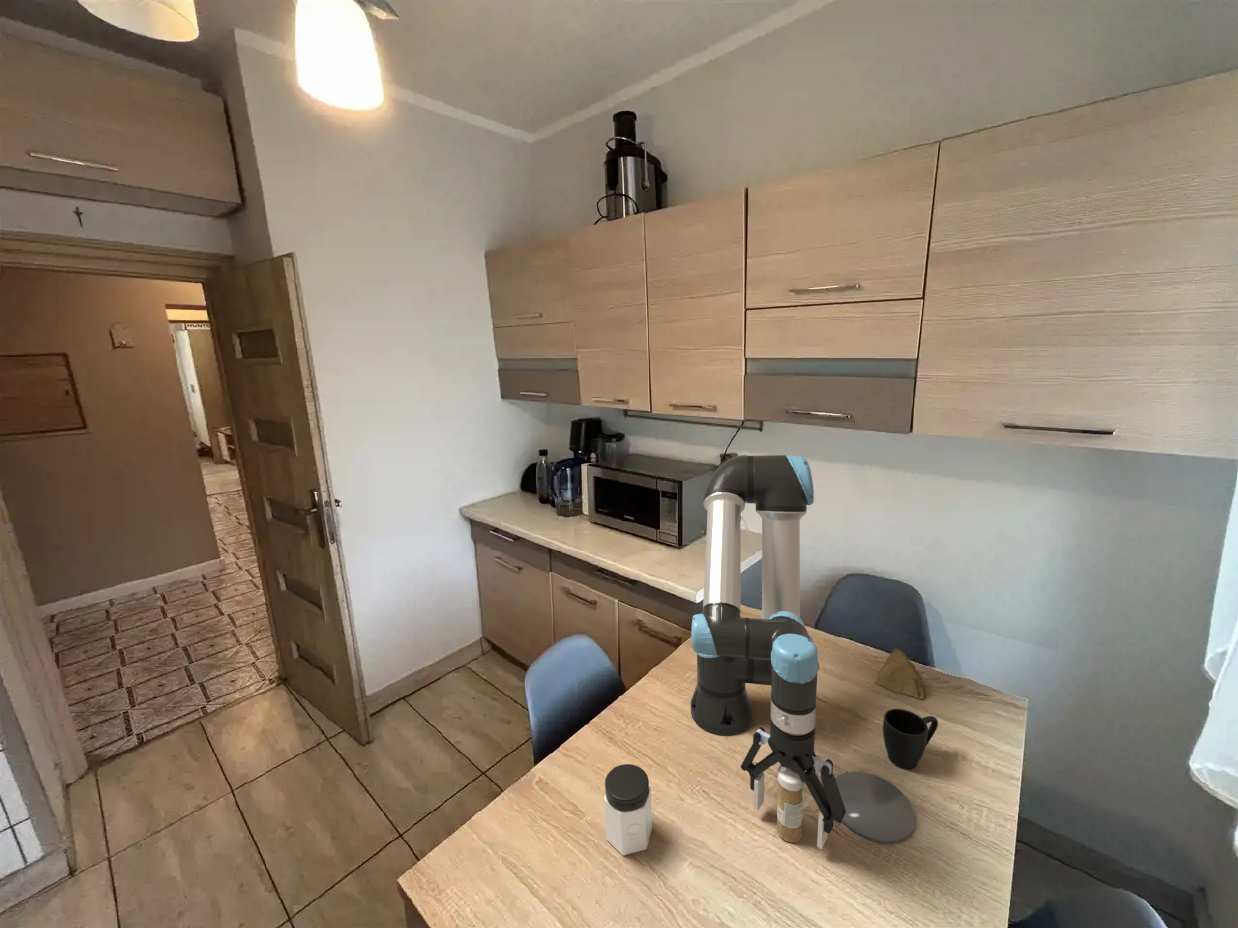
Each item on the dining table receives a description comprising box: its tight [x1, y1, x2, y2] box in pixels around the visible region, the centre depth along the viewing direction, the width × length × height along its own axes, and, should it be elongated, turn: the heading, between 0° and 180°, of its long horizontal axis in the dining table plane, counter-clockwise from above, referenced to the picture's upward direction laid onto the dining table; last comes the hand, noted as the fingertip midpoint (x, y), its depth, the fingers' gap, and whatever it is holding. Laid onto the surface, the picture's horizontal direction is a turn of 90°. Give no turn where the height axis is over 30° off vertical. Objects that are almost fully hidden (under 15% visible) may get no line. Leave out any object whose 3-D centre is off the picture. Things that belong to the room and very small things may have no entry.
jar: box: [603, 763, 653, 856], centre depth 94 cm, size 9×8×12 cm
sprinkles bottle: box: [775, 765, 805, 843], centre depth 93 cm, size 5×5×13 cm
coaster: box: [835, 770, 916, 844], centre depth 99 cm, size 15×15×1 cm
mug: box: [882, 708, 939, 771], centre depth 109 cm, size 8×12×10 cm
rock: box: [874, 648, 927, 700], centre depth 130 cm, size 11×9×10 cm
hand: (789, 822), depth 94 cm, fingers open, 11 cm apart
